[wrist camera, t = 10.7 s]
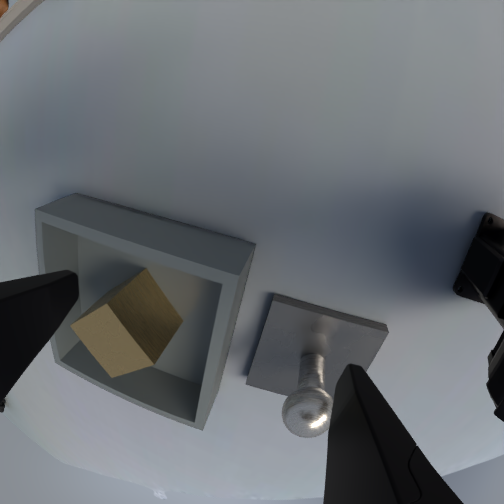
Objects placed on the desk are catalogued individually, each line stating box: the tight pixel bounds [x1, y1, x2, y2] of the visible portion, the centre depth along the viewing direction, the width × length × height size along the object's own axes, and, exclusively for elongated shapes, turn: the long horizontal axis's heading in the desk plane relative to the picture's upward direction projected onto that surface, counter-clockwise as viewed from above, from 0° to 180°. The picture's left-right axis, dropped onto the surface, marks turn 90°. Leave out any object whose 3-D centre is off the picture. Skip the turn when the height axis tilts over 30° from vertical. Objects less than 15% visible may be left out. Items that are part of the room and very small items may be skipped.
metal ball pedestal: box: [246, 294, 389, 438], centre depth 21 cm, size 9×9×8 cm
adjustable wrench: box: [0, 0, 44, 42], centre depth 17 cm, size 25×6×2 cm, turn 99°
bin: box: [35, 193, 256, 431], centre depth 23 cm, size 16×16×5 cm
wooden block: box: [70, 268, 184, 378], centre depth 23 cm, size 5×5×6 cm
